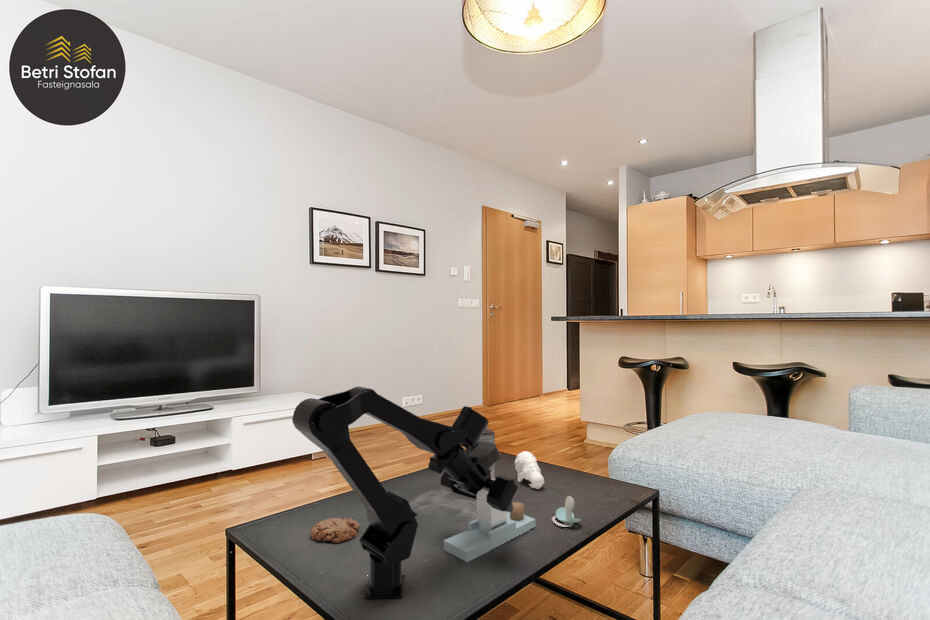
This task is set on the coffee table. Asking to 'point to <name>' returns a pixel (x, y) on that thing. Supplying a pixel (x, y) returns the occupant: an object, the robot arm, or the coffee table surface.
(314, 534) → the cookie
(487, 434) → the coffee box
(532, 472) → the white animal figurine
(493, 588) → the coffee table surface
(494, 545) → the blue stand
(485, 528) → the white rectangular block
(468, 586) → the coffee table surface
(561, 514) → the pacifier
